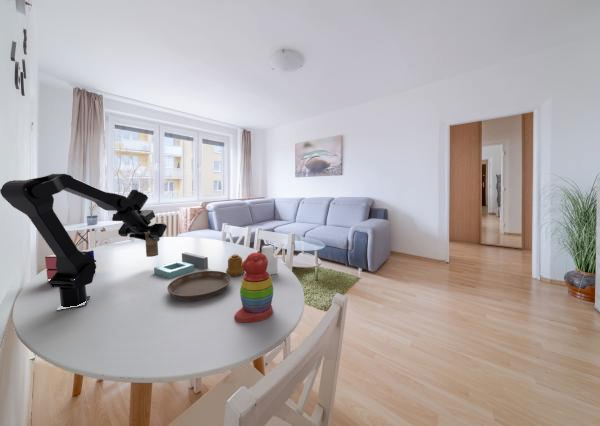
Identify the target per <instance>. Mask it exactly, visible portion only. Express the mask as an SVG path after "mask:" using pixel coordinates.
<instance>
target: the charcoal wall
mask: <svg viewBox="0 0 600 426" xmlns="http://www.w3.org/2000/svg"><path fill="white" fill-rule="evenodd" d="M208 258H209V257H208V256H204V255H199V254H195V253H192V252H191V253H190V252H185V251H184V252H181V261H182V262H186V263H190V264H193V265H194V268H199V269H203V270H206V269H209V263H208V262H209V260H208Z"/></svg>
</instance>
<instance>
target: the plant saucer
mask: <svg viewBox="0 0 600 426" xmlns="http://www.w3.org/2000/svg"><path fill="white" fill-rule="evenodd" d="M231 280H232V276H230V275H229V274H227V273H226V272H224V271H218V270H203V271H195V272H192V273H186V274H183V275H182V276H181V275H180V276H178V277H177V278H175V279H173V280H172V281H171V282H170V283H168V285H167V287H166V289H167V291H168V293H169V294H170V295H171V296H172V297H175V298H176V299H179V300H182V301H200V300H201V301H202V300H206V299H210V298H212V297H215V296H217V295H219V294H220V293H221V292H223V291H224V290H226V288H227V287H228V286H229V284H230V282H231Z"/></svg>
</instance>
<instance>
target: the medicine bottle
mask: <svg viewBox="0 0 600 426" xmlns="http://www.w3.org/2000/svg"><path fill="white" fill-rule="evenodd" d="M259 251H260V252H261V253H262V254H264V255H265V256H266V257H267V260H268V265H267V269H266V271H267V272H268V274H269V275H270V276H271V275H277V274H278V257H277V256H276V255H275V246H274V245H272V244H271V243H270V244H269V243H267V244H266V243H264V244H262V245H260V246H259Z"/></svg>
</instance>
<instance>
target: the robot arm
mask: <svg viewBox="0 0 600 426" xmlns="http://www.w3.org/2000/svg"><path fill="white" fill-rule="evenodd" d="M62 191H65V192H67V193H71V194H73V195H75V196H78V197H81V198H83V199H86V200H87V201H91V202H93V203H95V204H96V206H97V207H99V208H101V209H102V210H104V211H107V212H108V211H109V212H110V211H112V212H115V213H113V214H112V218H111V221H112V222H122V223H123V224H122V225H121V227H120V228H119V229H118V230H117V231H118V232H117V233H118V235H119V237H129V238H132V239H137V240H141V241H145V233H148V231H149V236H148V238H150V239H153V240H155V241H158V242H159V241H160V240H161V239H160V238H161V237H163V235H164V234H165V231H166V230H167V227H168V226H167V224H166V223H165V222H156V223H154V224H152V221H151V220H153V219H154V218H156V214H155V212H154V210H153V209H144V210H142V208H143V207H144V205H145V204H146V203H147V201H148V199H149V197H148V195H147V194H145V193H143V192H141V191H139V190H137V189H131V191H130V193H129V194H128V196H125V195H122V194H119V193H115V192H114V193H112V192H107V191H105V190H102V189H100V188H98V187H95V186H92V185H91V184H88V183H87V182H84V181H82V180H80V179H77V178H75V177H73V176H72V175H71V174H68V173H51V174H48V175H44V176H40V177H35V178H31V179H26V180H24V179H22V180H21V179H16V180H15V179H14V180H9V181H6V182H5V183H4V184H3V185H2V186H1V188H0V195H1V197H2V198H3V199H4V200H5V201H6V202H7V203H9V204H10V205H11V206H12V207H13V208H14V209H16V210H18V211H19V212H21V213H23V214H24V215H26V216H27V217H28V218H29V220H30V221H31V222H32V224H33V225H34V227H35V228H36V230H37V231H38V233H39V234H40V235H41V237H42V239H43V240H44V241H45V243H46V244H47V246H48V247H49V249H50V250H51V252H53V255H54V254H55V255H56V257H57V259H56V268H57V270H58V271H57V272H56V273H55V275H54V276H53V277H52V278H51V280H50V281H49V282H48V284H49V286H50V287H51V288H58V289H59V290H58V291H59V298H60V299H59V300H60V304H61V306H63V307H70V306H77V305H79V304H81V303H83V302H85V301H86V303H87V301H88V300H89V301H90V299H91V298H90V297H91V295H88V296H87V287H86V286H88V285H90V284H92V283H93V279H94V277H95V274H96V273H95V272H96V269H97V264H96V263H97V260H96V259H95V257H94V258H93V256H92V254H91V253H90V252H85V251H79V250H80V249H78V247H77V246H76V244H75V243H74V241H73V239H72V238H71V235H70V234H69V233H68V232H67V230H66V228H65V227H64V225H63V224H62V222H61V220H60V219H59V217H58V215H57V214H56V213H55V211H54V201H55V199H54V195H56V194H59V193H61V192H62ZM71 278H75V280H71ZM89 298H90V299H89ZM89 301H88V302H89ZM86 303H85V304H86ZM87 304H88V303H87ZM87 304H86V305H87Z"/></svg>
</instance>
